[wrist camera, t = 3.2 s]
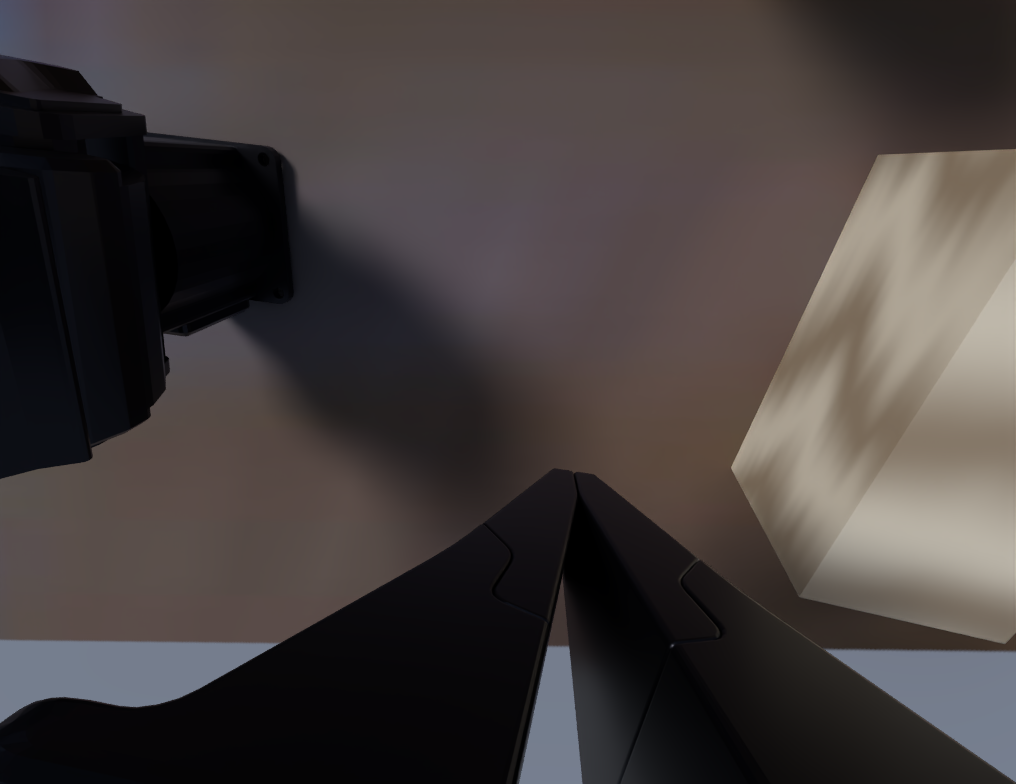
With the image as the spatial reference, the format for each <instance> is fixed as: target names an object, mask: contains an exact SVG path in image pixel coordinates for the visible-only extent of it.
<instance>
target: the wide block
mask: <svg viewBox="0 0 1016 784" xmlns="http://www.w3.org/2000/svg"><path fill="white" fill-rule="evenodd" d="M731 469H732V471H733V473H734V475H735V476H736V478H737V480H738V482H739V484H740V486H741V488H742V490H743V492H744V494H745V495H746V497H747V499H748V501H749V503H750V505H751V507H752V509H753V511H754V512H755V514H756V516H757V518H758V520H759V522H760V524H761V526H762V528H763V530H764V531H765V533H766V535H767V537H768V539H769V541H770V543H771V545H772V547H773V549H774V550H775V552H776V554H777V556H778V558H779V560H780V562H781V564H782V566H783V567H784V569H785V571H786V573H787V575H788V577H789V579H790V581H791V583H792V585H793V586H794V588H795V590H796V592H797V594H798V596H799V597H801V598H805V599H810V600H814V601H819V602H823V603H827V604H832V605H836V606H841V607H845V608H849V609H854V610H858V611H863V612H867V613H871V614H876V615H880V616H885V617H889V618H893V619H898V620H902V621H907V622H911V623H915V624H920V625H924V626H929V627H933V628H937V629H942V630H946V631H950V632H955V633H959V634H964V635H968V636H972V637H977V638H981V639H986V640H990V641H994V642H999V643H1003V644H1005V643H1006V642H1007V641H1008V640H1009V639H1010V638H1011V637H1012V636H1013V635H1014V634H1015V633H1016V149H1006V150H982V151H958V152H934V153H910V154H887V155H878V156H877V158H876V161H875V163H874V165H873V167H872V169H871V171H870V173H869V175H868V178H867V180H866V182H865V184H864V186H863V188H862V190H861V192H860V195H859V197H858V199H857V201H856V203H855V205H854V207H853V209H852V212H851V214H850V216H849V218H848V220H847V222H846V224H845V226H844V229H843V231H842V233H841V235H840V237H839V239H838V241H837V244H836V246H835V248H834V250H833V252H832V254H831V256H830V258H829V261H828V263H827V265H826V267H825V269H824V271H823V273H822V275H821V278H820V280H819V282H818V284H817V286H816V288H815V290H814V292H813V295H812V297H811V299H810V301H809V303H808V305H807V307H806V310H805V312H804V314H803V316H802V318H801V320H800V322H799V324H798V327H797V329H796V331H795V333H794V335H793V337H792V339H791V341H790V344H789V346H788V348H787V350H786V352H785V354H784V356H783V358H782V361H781V363H780V365H779V367H778V369H777V371H776V373H775V376H774V378H773V380H772V382H771V384H770V386H769V388H768V390H767V393H766V395H765V397H764V399H763V401H762V403H761V405H760V407H759V410H758V412H757V414H756V416H755V418H754V420H753V422H752V424H751V427H750V429H749V431H748V433H747V435H746V437H745V439H744V442H743V444H742V446H741V448H740V450H739V452H738V454H737V456H736V459H735V461H734V463H733V465H732V467H731Z"/></svg>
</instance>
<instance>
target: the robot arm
mask: <svg viewBox="0 0 1016 784" xmlns="http://www.w3.org/2000/svg"><path fill="white" fill-rule="evenodd" d="M265 154H267V155H268V156H269V159H270V163H269V165H268V166H267V165H266V164H265V163H264V160H263V158H264V155H265ZM278 288H280V289H281V290H282V291H283V293H284V295H283V296H281V295H280V294H279V293H278ZM292 297H293V283H292V273H291V262H290V252H289V241H288V231H287V220H286V210H285V199H284V188H283V178H282V167H281V160H280V156H279V154H278V153H277V151H276V150H275V149H273V148H272V147H269V146H262V145H253V144H244V143H236V142H227V141H218V140H209V139H201V138H192V137H183V136H175V135H166V134H157V133H148V132H147V129H146V119H145V115H142V114H138V113H134V112H130V111H126V110H123V109H122V104H119V103H116V102H113V101H109V100H106V99H103V97H102V96H98V95H97V94H96V93H95V91H94V90H93V89H92V88H91V86H90V85H89V84H88V83H87V81H86V80H85V79H84V78H83V76H82V75H81V74H80V73H79V71H76V70H72V69H68V68H64V67H60V66H56V65H51V64H46V63H41V62H36V61H31V60H26V59H21V58H15V57H10V56H5V55H0V479H1V478H5V477H9V476H13V475H17V474H21V473H24V472H28V471H32V470H36V469H41V468H48V467H54V466H61V465H68V464H74V463H81V462H86V461H88V460H90V459H91V458H92V457H93V454H92V449H91V448H92V447H95V446H97V445H100V444H101V443H103V442H105V441H106V440H108V439H111V438H114V437H116V436H119V435H121V434H124V433H126V432H128V431H129V430H131V429H133V428H134V427H136V426H138V425H140V424H141V423H143V422H144V421H146V420H147V419H148V418H149V417H150V416H151V414H150V407H151V406H153V405H154V404H155V402H156V401H157V400H158V399H159V397H160V396H161V395H162V393H163V392H164V391H165V390H166V376H167V374H168V373H169V372H170V365H169V358H168V357H167V356H165V347H164V337H163V334H171V335H178V336H189V335H191V334H193V333H196V332H198V331H200V330H203V329H205V328H207V327H210V326H212V325H214V324H216V323H219V322H221V321H223V320H226V319H228V318H230V317H232V316H235V315H237V314H239V313H242V312H244V311H245V310H246V309H247V308H248V307H249V300H255V301H262V302H270V303H277V304H283V303H286V302H288V301H289V300H291V299H292ZM562 575H563V584H564V596H565V606H566V617H567V627H568V637H569V648H570V658H571V669H572V678H573V689H574V700H575V710H576V720H577V731H578V741H579V751H580V761H581V771H582V782H583V784H1016V782H1014V781H1013V780H1011V779H1010V778H1009V777H1007V776H1005V775H1004V774H1002V773H1001V772H1000V771H998V770H997V769H996V768H994V767H993V766H991V765H989V764H988V763H987V762H985V761H984V760H982V759H981V758H980V757H978V756H977V755H975V754H974V753H972V752H971V751H970V750H968V749H966V748H965V747H964V746H962V745H961V744H960V743H958V742H957V741H955V740H954V739H952V738H951V737H949V736H948V735H947V734H945V733H944V732H942V731H941V730H939V729H938V728H936V727H935V726H934V725H932V724H931V723H929V722H928V721H926V720H925V719H924V718H922V717H921V716H919V715H918V714H916V713H915V712H913V711H912V710H910V709H909V708H908V707H906V706H905V705H903V704H902V703H900V702H899V701H898V700H896V699H895V698H893V697H892V696H890V695H889V694H887V693H886V692H885V691H883V690H882V689H880V688H879V687H877V686H876V685H875V684H873V683H872V682H870V681H869V680H867V679H866V678H864V677H863V676H861V675H860V674H858V673H857V672H856V671H854V670H853V669H851V668H850V667H849V666H847V665H846V664H844V663H843V662H841V661H840V660H839V659H837V658H836V657H834V656H832V655H831V654H830V653H828V652H827V651H826V650H824V649H823V648H821V647H820V646H818V645H817V644H815V643H814V642H813V641H811V640H810V639H808V638H807V637H805V636H804V635H802V634H801V633H800V632H798V631H797V630H795V629H794V628H792V627H791V626H790V625H788V624H787V623H785V622H784V621H782V620H781V619H779V618H778V617H777V616H775V615H774V614H772V613H771V612H770V611H768V610H767V609H765V608H764V607H762V606H761V605H760V604H758V603H757V602H755V601H754V600H753V599H751V598H750V597H748V596H747V595H746V594H744V593H743V592H741V591H740V590H739V589H738V588H736V587H735V586H734V585H732V584H731V583H730V582H729V581H727V580H726V579H725V578H723V577H722V576H721V575H719V574H718V573H717V572H716V571H714V570H713V569H712V568H711V567H709V566H708V565H707V564H706V563H705V562H703V561H701V560H700V561H699V559H698V558H697V557H696V556H695V555H693V554H692V553H691V552H690V551H688V550H687V549H686V548H685V547H683V546H682V545H681V544H680V543H679V542H677V541H676V540H675V539H674V538H672V537H671V536H670V535H669V534H667V533H666V532H665V531H664V530H662V529H661V528H660V527H659V526H657V525H656V524H655V523H654V522H652V521H651V520H650V519H649V518H647V517H646V516H645V515H644V514H643V513H641V512H640V511H639V510H638V509H636V508H635V507H634V506H633V505H631V504H630V503H629V502H628V501H626V500H625V499H624V498H623V497H621V496H620V495H619V494H618V493H616V492H615V491H614V490H613V489H612V488H610V487H609V486H608V485H607V484H605V483H604V482H603V481H602V480H600V479H599V478H598V477H597V476H595V475H593V474H588V473H582V472H576V473H574V474H573V472H572V471H569V470H562V469H552V470H551V471H549V472H548V473H547V474H546V475H544V476H543V477H542V478H541V479H539V480H538V481H537V482H535V483H534V484H533V485H532V486H530V487H529V488H528V489H527V490H525V491H524V492H523V493H521V494H520V495H519V496H518V497H516V498H515V499H514V500H513V501H511V502H510V503H509V504H507V505H506V506H505V507H504V508H502V509H501V510H500V511H498V512H497V513H496V514H495V515H493V516H492V517H491V518H490V519H488V520H487V521H486V522H484V523H483V524H482V525H480V526H478V527H477V528H476V529H474V530H473V531H472V532H471V533H469V534H468V535H466V536H465V537H464V538H462V539H461V540H459V541H458V542H457V543H455V544H454V545H452V546H450V547H449V548H447V549H445V550H444V551H442V552H440V553H439V554H437V555H436V556H434V557H432V558H430V559H429V560H427V561H425V562H423V563H422V564H420V565H418V566H416V567H414V568H413V569H411V570H409V571H407V572H406V573H404V574H402V575H400V576H399V577H397V578H395V579H393V580H391V581H390V582H388V583H386V584H384V585H383V586H381V587H379V588H377V589H375V590H374V591H372V592H370V593H368V594H367V595H365V596H363V597H361V598H359V599H358V600H356V601H354V602H352V603H351V604H349V605H347V606H345V607H343V608H342V609H340V610H338V611H336V612H335V613H333V614H331V615H329V616H327V617H326V618H324V619H322V620H320V621H319V622H317V623H315V624H313V625H312V626H310V627H308V628H306V629H304V630H303V631H301V632H299V633H297V634H296V635H294V636H292V637H290V638H288V639H287V640H285V641H283V642H281V643H280V644H278V645H276V646H274V647H273V648H271V649H269V650H267V651H265V652H264V653H262V654H260V655H258V656H257V657H255V658H253V659H251V660H249V661H248V662H246V663H244V664H242V665H240V666H239V667H237V668H236V669H233V670H232V671H230V672H228V673H226V674H225V675H223V676H221V677H219V678H218V679H216V680H214V681H212V682H211V683H209V684H207V685H205V686H203V687H202V688H200V689H198V690H196V691H193V692H191V693H189V694H187V695H185V696H183V697H181V698H178V699H175V700H171V701H168V702H165V703H161V704H157V705H151V706H142V707H126V706H117V705H112V704H107V703H102V702H97V701H92V700H85V699H76V698H67V697H59V698H49V699H44V700H40V701H36V702H33V703H31V704H29V705H27V706H25V707H23V708H21V709H19V710H18V711H17V712H15V713H14V714H12V715H11V716H9V717H8V718H7V719H5V720H4V721H3V722H1V723H0V784H519V781H520V776H521V771H522V766H523V762H524V757H525V752H526V747H527V742H528V738H529V733H530V728H531V723H532V718H533V713H534V709H535V704H536V699H537V695H538V689H539V685H540V680H541V675H542V671H543V666H544V661H545V656H546V652H547V647H548V642H549V637H550V632H551V628H552V623H553V618H554V613H555V609H556V604H557V599H558V594H559V589H560V585H561V580H562Z"/></svg>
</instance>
